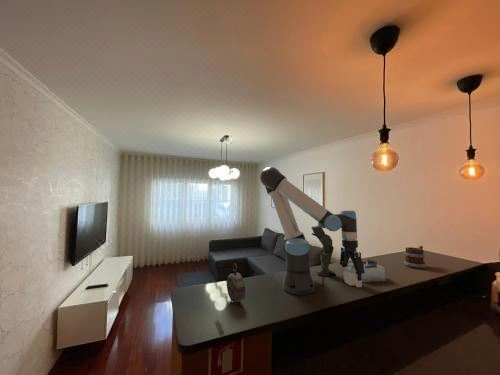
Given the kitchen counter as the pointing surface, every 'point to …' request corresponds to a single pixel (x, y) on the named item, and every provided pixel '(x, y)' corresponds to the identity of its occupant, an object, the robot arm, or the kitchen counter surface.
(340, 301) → the kitchen counter surface
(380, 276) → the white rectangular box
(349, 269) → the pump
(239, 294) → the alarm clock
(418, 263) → the chocolate layer cake
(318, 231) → the mechanical leg
